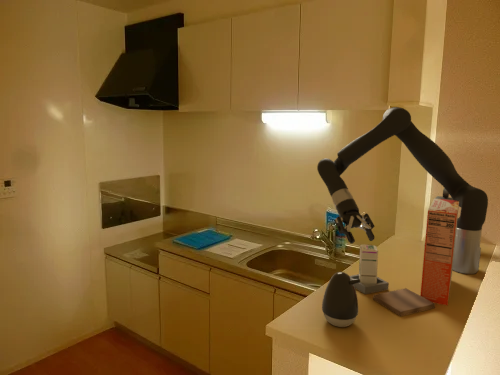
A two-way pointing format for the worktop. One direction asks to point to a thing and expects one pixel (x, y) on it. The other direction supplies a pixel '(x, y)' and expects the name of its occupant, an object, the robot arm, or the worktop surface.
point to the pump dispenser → (340, 300)
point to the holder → (372, 288)
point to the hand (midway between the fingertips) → (362, 241)
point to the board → (403, 302)
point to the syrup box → (368, 264)
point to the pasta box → (439, 250)
